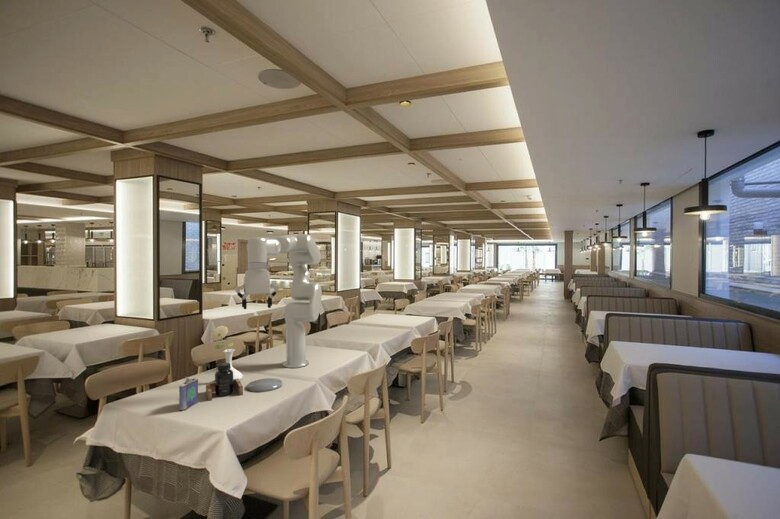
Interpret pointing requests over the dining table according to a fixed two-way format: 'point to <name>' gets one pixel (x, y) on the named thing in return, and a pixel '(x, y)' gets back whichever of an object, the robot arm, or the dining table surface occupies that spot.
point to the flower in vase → (218, 335)
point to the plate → (264, 385)
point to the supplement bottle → (224, 380)
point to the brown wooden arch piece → (211, 388)
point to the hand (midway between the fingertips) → (257, 308)
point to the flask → (188, 393)
